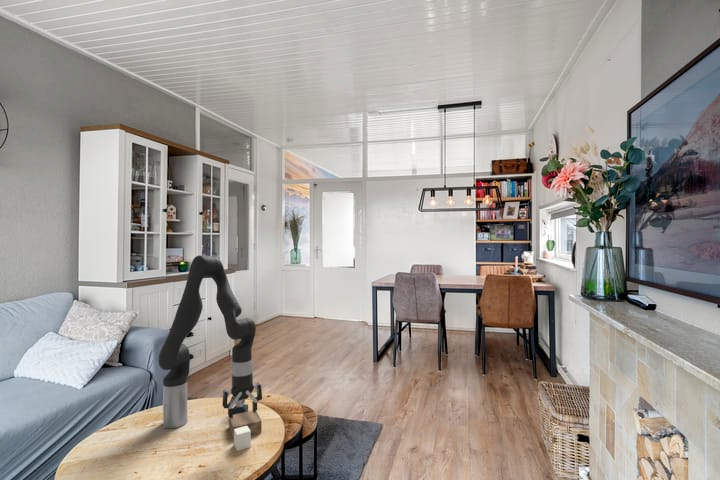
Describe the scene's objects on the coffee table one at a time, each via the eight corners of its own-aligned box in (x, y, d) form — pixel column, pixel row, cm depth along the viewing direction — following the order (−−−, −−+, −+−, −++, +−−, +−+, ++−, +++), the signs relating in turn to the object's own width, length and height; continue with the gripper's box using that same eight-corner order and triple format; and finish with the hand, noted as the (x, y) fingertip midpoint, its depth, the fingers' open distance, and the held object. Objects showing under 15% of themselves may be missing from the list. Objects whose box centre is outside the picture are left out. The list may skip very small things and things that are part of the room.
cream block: (237, 451, 138) (237, 434, 138) (234, 444, 142) (233, 429, 142) (250, 447, 140) (250, 431, 140) (247, 441, 145) (247, 425, 145)
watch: (249, 409, 172) (249, 385, 172) (243, 417, 164) (243, 392, 164) (237, 409, 172) (237, 385, 172) (231, 417, 164) (231, 392, 164)
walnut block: (233, 439, 146) (233, 427, 146) (229, 427, 156) (229, 415, 156) (261, 433, 151) (261, 420, 151) (255, 421, 161) (255, 409, 161)
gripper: (258, 365, 148) (258, 406, 148) (220, 372, 141) (221, 415, 141) (263, 371, 142) (264, 413, 142) (224, 378, 135) (225, 423, 134)
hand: (242, 414), depth 141 cm, fingers open, 8 cm apart
